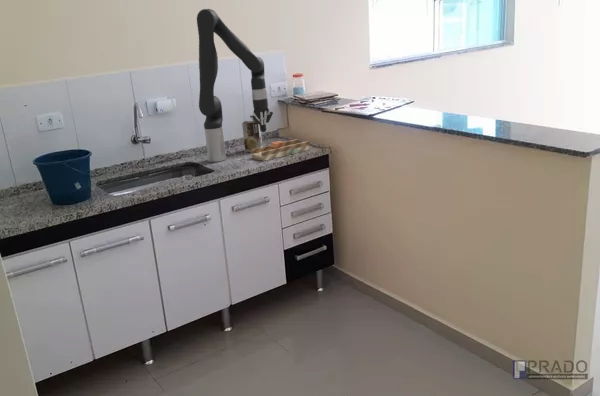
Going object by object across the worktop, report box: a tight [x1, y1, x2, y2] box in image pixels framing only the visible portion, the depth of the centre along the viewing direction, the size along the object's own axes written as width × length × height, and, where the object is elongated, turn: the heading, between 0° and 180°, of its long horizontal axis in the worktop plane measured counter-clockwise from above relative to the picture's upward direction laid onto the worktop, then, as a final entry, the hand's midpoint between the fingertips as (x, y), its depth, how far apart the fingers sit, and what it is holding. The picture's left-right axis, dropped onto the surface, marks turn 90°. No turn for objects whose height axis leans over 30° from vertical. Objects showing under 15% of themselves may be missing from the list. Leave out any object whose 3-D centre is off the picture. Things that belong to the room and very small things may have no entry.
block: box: [270, 140, 285, 149], centre depth 289 cm, size 5×5×4 cm
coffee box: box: [241, 120, 264, 153], centre depth 302 cm, size 9×6×16 cm
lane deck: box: [251, 138, 311, 162], centre depth 291 cm, size 30×11×4 cm, turn 127°
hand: (263, 131), depth 282 cm, fingers closed
